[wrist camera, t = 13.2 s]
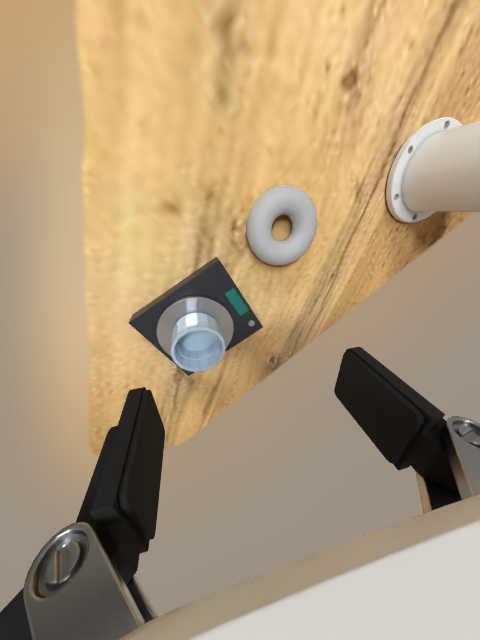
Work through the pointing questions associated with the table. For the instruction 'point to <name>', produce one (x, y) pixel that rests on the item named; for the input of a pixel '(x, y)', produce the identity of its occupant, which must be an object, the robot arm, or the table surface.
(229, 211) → the table surface
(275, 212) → the donut
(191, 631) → the robot arm
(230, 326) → the scale pan
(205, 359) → the light blue cup
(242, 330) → the scale
